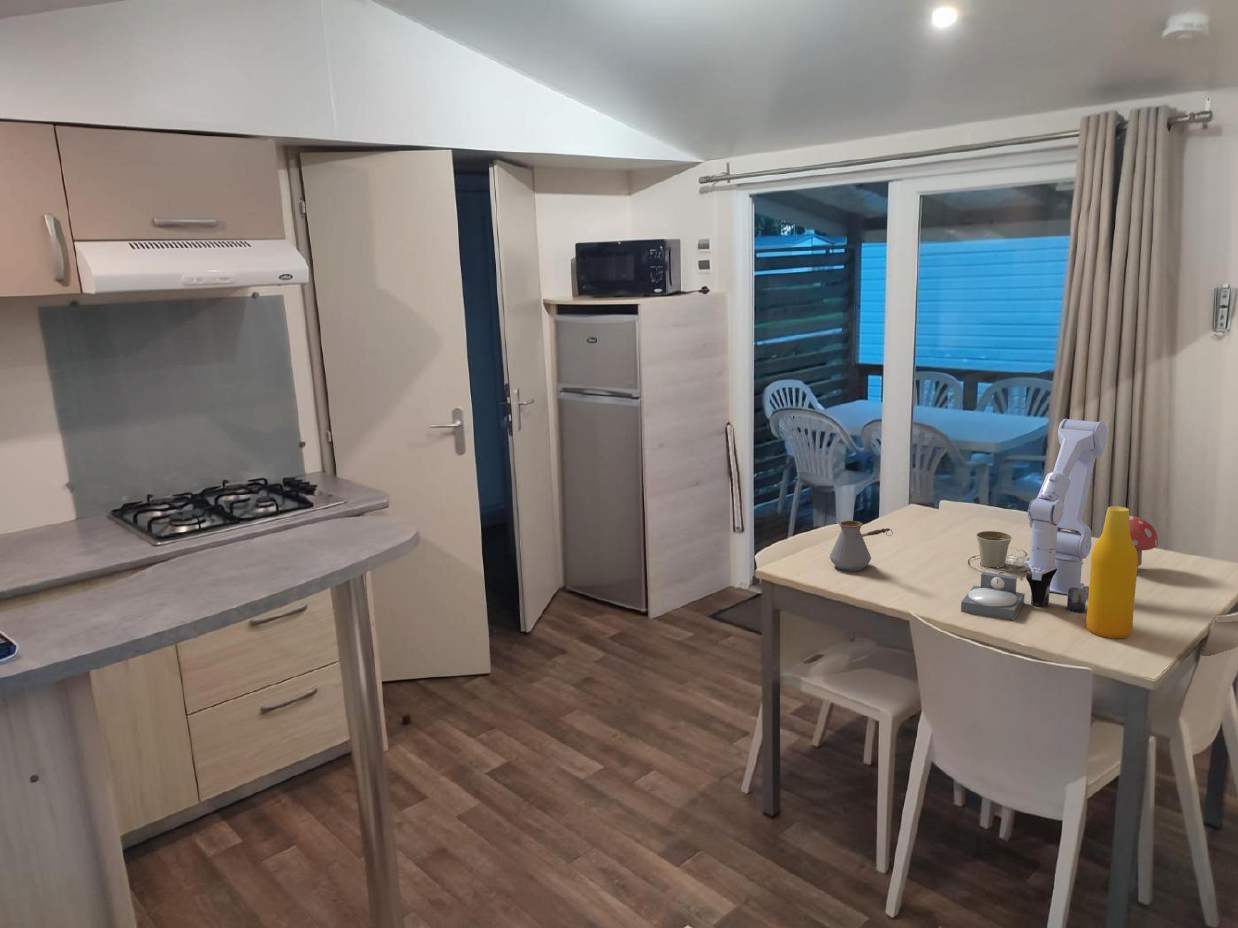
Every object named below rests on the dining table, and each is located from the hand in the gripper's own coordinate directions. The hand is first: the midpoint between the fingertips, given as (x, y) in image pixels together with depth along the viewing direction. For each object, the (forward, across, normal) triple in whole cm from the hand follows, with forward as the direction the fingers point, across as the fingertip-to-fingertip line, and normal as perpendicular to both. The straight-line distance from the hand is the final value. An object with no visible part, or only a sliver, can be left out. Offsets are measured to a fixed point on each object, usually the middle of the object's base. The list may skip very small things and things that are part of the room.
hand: (1040, 599), depth 217 cm
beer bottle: (+2, +10, +16) cm, 19 cm away
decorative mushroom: (+2, -38, +16) cm, 41 cm away
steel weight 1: (+2, 0, 0) cm, 2 cm away
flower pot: (+2, -26, -16) cm, 31 cm away
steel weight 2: (+2, 0, +8) cm, 8 cm away
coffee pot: (+2, -4, -46) cm, 47 cm away
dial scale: (+1, +7, -10) cm, 12 cm away
